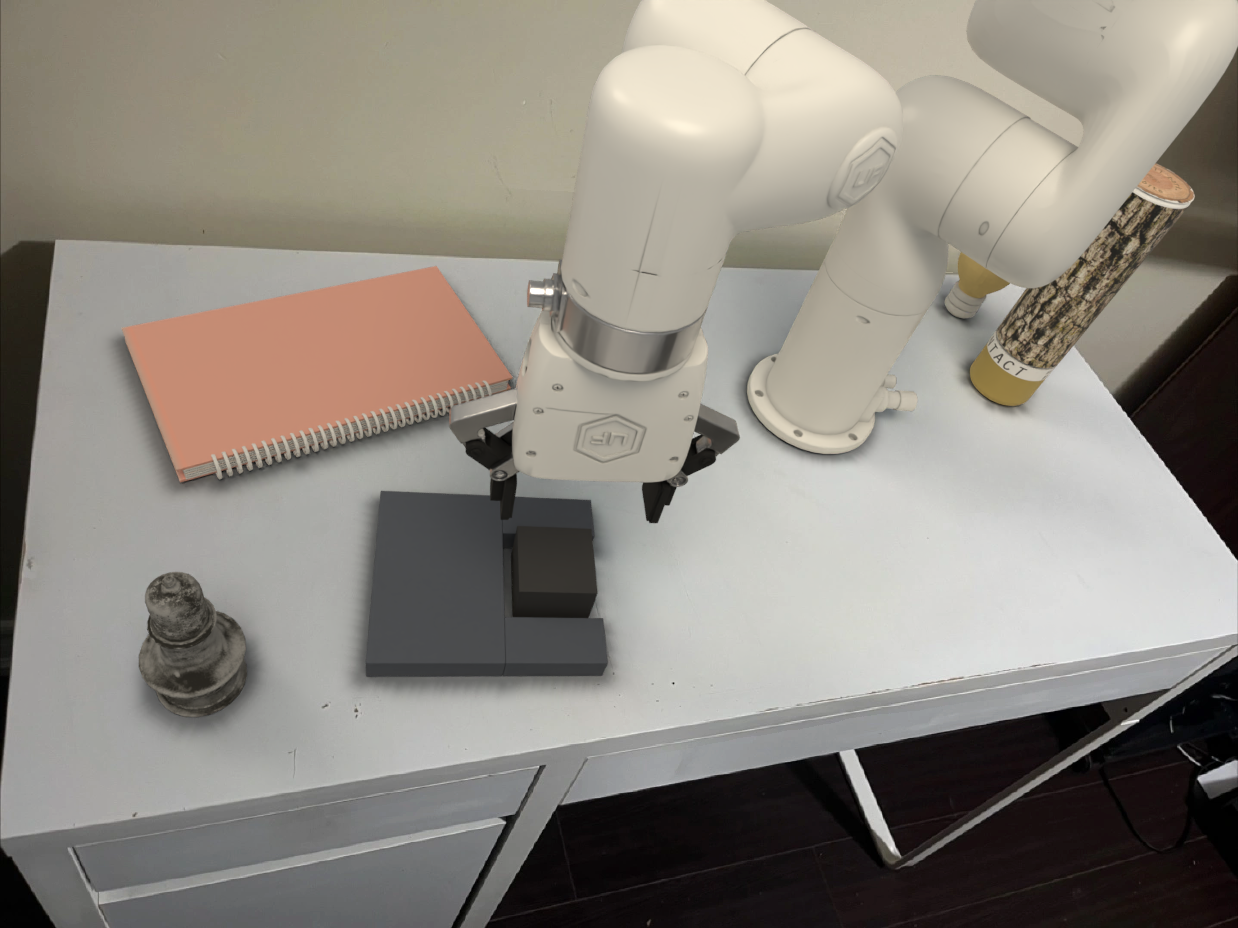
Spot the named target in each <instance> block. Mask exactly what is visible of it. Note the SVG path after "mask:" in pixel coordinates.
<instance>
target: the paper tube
mask: <svg viewBox="0 0 1238 928" xmlns="http://www.w3.org/2000/svg"><path fill="white" fill-rule="evenodd" d="M1195 197H1196V196H1195V192H1194V190H1193V188H1192V187H1191V186H1190V185H1189V184H1188V183H1187V181H1186V180H1184V179H1183V178H1182V177H1181V176H1179V175H1178V174H1177V173H1175V172H1174V171H1172V170H1171V169H1169V168H1166V167H1165V166H1163V165H1161V164H1158V163H1157V162H1156V163H1155V164H1154V166H1153V167H1152V168H1151V169H1150V171H1149V172H1148V173H1147V174H1146V176H1145V177H1144V178H1143V179H1142V181H1141V182H1140V183H1139V184H1138V186H1137V187H1136V188H1135V189H1134V191H1133V192H1132V193H1131V195H1130V196H1129V197H1128V198H1127V200H1126V201H1125V202H1124V203H1123V205H1122V206H1121V207H1120V208H1119V210H1118V211H1117V212H1116V213H1115V215H1114V216H1113V217H1112V218H1111V220H1110V221H1109V222H1108V223H1107V225H1106V226H1105V227H1104V229H1103V230H1102V231H1101V232H1100V234H1099V235H1098V236H1097V237H1096V238H1095V240H1094V241H1093V242H1092V243H1091V244H1090V246H1089V247H1088V248H1087V249H1086V250H1085V252H1084V253H1083V254H1082V255H1081V256H1080V257H1079V258H1078V260H1077V261H1076V262H1075V263H1074V264H1073V265H1072V266H1071V267H1070V268H1069V269H1068V270H1067V271H1066V272H1064V273H1063V274H1062V275H1061V276H1060V277H1058V278H1057V279H1056V280H1054V281H1053V282H1051V283H1049V284H1047V285H1045V286H1042V287H1038V288H1025V289H1024V291H1023V292H1022V293H1021V295H1020V296H1019V298H1018V299H1017V300H1016V302H1015V303H1014V305H1013V306H1012V308H1011V309H1010V310H1009V312H1008V313H1007V314H1006V316H1005V317H1004V319H1003V320H1002V322H1001V323H1000V324H999V325H998V327H997V329H996V330H995V331H994V332H993V334H992V335H991V336H990V338H989V340H988V341H987V342H986V344H985V345H984V347H983V348H982V349H981V351H980V352H979V353H978V355H977V356H976V358H975V359H974V361H972V363H971V366H969V367H970V368H969V377H970V381H971V383H972V385H973V386H974V387H975V389H976V390H977V392H979V393H980V394H981V395H983V396H984V397H985V398H986V399H988V400H990V401H992V402H993V403H996V404H999V405H1003V406H1006V407H1007V406H1008V407H1017V406H1020V405H1023V404H1026V403H1027V402H1028V401H1029V400H1030V399H1031V397H1032V396H1033V395H1034V394H1035V393H1036V391H1038V389H1039V388H1040V387H1041V385H1042V384H1043V383H1044V382H1045V381H1046V379H1047V378H1048V377H1049V376H1050V375H1051V374H1052V373H1053V372H1054V370H1055V369H1056V367H1058V365H1059V364H1060V363H1061V362H1062V361H1063V359H1064V358H1065V357H1066V356H1067V354H1068V353H1069V352H1070V351H1071V350H1072V348H1073V347H1074V346H1075V345H1076V343H1077V342H1079V340H1080V338H1081V337H1082V336H1083V335H1084V334H1085V333H1086V332H1087V330H1089V328H1090V327H1091V325H1092V324H1093V323H1094V322H1095V320H1096V319H1097V318H1098V317H1099V316H1100V314H1102V312H1103V311H1104V310H1105V308H1106V307H1107V306H1108V305H1109V304H1110V302H1111V301H1112V300H1113V299H1114V297H1115V296H1116V295H1117V294H1118V292H1119V291H1120V290H1121V289H1122V288H1123V287H1124V286H1125V284H1126V283H1127V282H1128V281H1129V279H1130V278H1131V277H1132V276H1133V274H1134V273H1135V272H1136V271H1137V270H1138V269H1139V267H1140V266H1141V265H1142V264H1143V263H1144V261H1145V260H1146V259H1147V258H1148V256H1149V255H1150V254H1151V253H1152V252H1153V250H1154V249H1155V248H1156V247H1157V245H1158V244H1159V243H1160V242H1161V241H1162V240H1163V238H1164V237H1165V236H1166V235H1167V233H1168V232H1169V231H1170V230H1171V229H1172V228H1173V226H1174V225H1175V224H1176V222H1178V220H1179V219H1180V217H1181V216H1182V215H1183V214H1184V213H1185V212H1186V211H1187V209H1188V208H1189V207H1190V205H1191V204H1192V202H1193V201H1194V200H1195Z"/></svg>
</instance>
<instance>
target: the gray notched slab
mask: <svg viewBox="0 0 1238 928" xmlns="http://www.w3.org/2000/svg"><path fill="white" fill-rule="evenodd" d="M378 505H379V506H378V516H377V528H376V539H375V549H374V550H375V551H374V560H373V561H374V563H373V575H372V585H371V598H370V607H369V608H370V609H369V620H368V630H367V631H368V632H367V642H366V643H367V644H366V655H365V677H370V678H372V677H373V678H374V677H375V678H376V677H381V678H383V677H384V678H386V677H387V678H388V677H392V678H393V677H602V676H603V675H604V673H605V671H606V668H607V666H608V664H609V659H608V651H607V642H606V641H607V640H606V632H605V622H604V618H602V617H601V618H600V617H589V618H539V617H512V616H505V579H504V578H505V577H504V576H505V575H504V549H512V548H513V544H514V539H515V534H516V529H517V526H534V527H559V528H584V529H592V539H593V541H594V539H595V537H596V535H595V526H594V515H593V506H592V500H591V499H581V498H579V499H578V498H561V497H560V498H557V497H556V498H555V497H533V496H515V501H514V507H513V514H512V518H509V520H500V501H490V494H489V495H487V494H486V495H485V494H467V493H466V494H465V493H444V492H443V493H442V492H441V493H440V492H419V491H395V490H381V491H380V495H379V504H378Z"/></svg>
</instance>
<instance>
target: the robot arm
mask: <svg viewBox="0 0 1238 928" xmlns="http://www.w3.org/2000/svg"><path fill="white" fill-rule="evenodd" d="M967 19H968V20H967V23H966V24H967V25H966V30H965V31H966V39H967V42H968V44H969V46H970V48H971V51H973V53H975V55H976V56H977V57H978V58H979V59H980V60H981V61H983V62H984V63H985V64H986V65H988V66H989V67H990V68H992V69H993V70H995V71H996V72H998V73H999V74H1001V75H1002V76H1004V77H1005V78H1007V79H1009V80H1010V81H1012V82H1013V83H1016V84H1017V85H1019V86H1020V87H1022V88H1024V89H1025V90H1027V91H1029V92H1031V93H1032V94H1034V95H1036V96H1038V97H1039V98H1041V99H1043V100H1045V101H1046V102H1048V103H1049V104H1051V105H1053V106H1055V107H1057V108H1058V109H1060V110H1061V111H1064V112H1065V113H1067V114H1069V115H1071V116H1072V117H1074V118H1075V119H1077V120H1078V121H1079V122H1080V123H1081V126H1082V129H1083V130H1082V137H1081V140H1080V143H1079V144H1078V146H1077V145H1075V144H1073V143H1072V142H1071V141H1069V140H1067V139H1066V138H1064V137H1062V136H1061V135H1058V134H1057V133H1055V132H1054V131H1052V130H1050V129H1048V128H1047V127H1045V126H1043V124H1040V123H1038V122H1037V121H1035V120H1033V119H1032V118H1031V117H1030V116H1029V115H1027V114H1025V113H1023V112H1022V111H1020V110H1018V109H1017V108H1015V107H1013V106H1011V105H1010V104H1008V103H1006V102H1005V101H1004V100H1001V99H1000V98H998V97H996V96H995V95H993V94H991V93H989V92H987V91H986V90H984V89H982V88H980V87H979V86H977V85H974V84H972V83H970V82H968V81H965V80H962V79H958V78H957V77H953V76H949V75H940V74H939V75H938V74H930V75H925V76H924V75H923V76H921V77H918V78H915V79H911V81H909V82H907V83H905V84H903V85H902V86H901V87H900V88H898V89H897V90H895V89H894V88H893V85H891V84H890V82H889V81H888V80H887V79H886V78H885V77H883V75H881V74H880V72H878V71H877V69H874V67H872V66H871V65H869V64H868V63H866V62H864V60H862V59H860V58H859V57H857V56H855V55H853V54H852V53H850V52H849V51H848V50H846V49H844V48H842V47H840V46H838V45H837V44H835V43H834V42H832V41H831V40H829V39H827V38H826V37H824V36H822V35H820V34H819V33H818V32H817V31H816V30H814V29H813V28H811V27H810V26H808V25H807V24H805V23H803V22H802V21H800V20H799V19H798V18H796V17H794V16H792V15H791V14H789V13H788V12H786V11H784V10H783V9H781V8H779V7H778V6H776V5H774V4H773V3H771V2H769V1H768V0H640V1H639V3H638V5H637V7H636V8H635V11H634V14H633V16H632V17H631V20H630V23H629V25H628V27H627V29H626V33H625V36H624V40H623V44H622V48H621V53H620V54H618V55H616V56H615V57H613V58H612V59H611V60H610V61H609V62H608V63H607V64H606V65H604V67H603V68H602V69H601V71H600V73H599V74H598V76H597V79H596V80H595V83H594V84H593V86H592V89H591V94H590V98H589V103H588V107H587V111H586V112H587V113H586V118H585V119H586V120H585V125H584V130H583V136H582V142H581V148H580V153H579V160H578V165H577V172H576V177H575V183H574V184H575V185H574V190H573V196H572V201H571V205H570V206H571V207H570V213H569V218H568V225H567V231H566V236H565V241H564V247H563V253H562V259H561V258H560V259H558V263H557V265H558V266H557V271H556V272H555V273H554V272H553V274H552V275H551V278H543V280H542V281H541V280H529V279H528V282H527V283H528V284H527V291H526V306H527V308H535V309H541V311H540V313H539V315H538V317H537V319H536V321H535V324H534V326H533V328H532V330H531V333H530V336H529V339H528V341H527V345H526V347H525V351H524V354H523V358H522V361H521V365H520V368H519V372H518V376H517V379H516V385H515V388H511V389H510V390H506V391H503V392H499V393H496V394H492V395H490V396H485V397H483V398H478V399H476V400H471V401H469V402H464V403H462V404H457V405H455V406H453V407H451V406H450V407H449V410H450V413H448V415H449V416H448V418H449V419H448V420H449V421H448V427H449V430H450V431H451V433H452V434H453V435H454V437H455V438H456V440H457V441H458V442H459V443H460V444H462V446H463V447H464V449H465V452H464V453H465V454H466V455H467V456H468V457H470V459H472V460H474V461H475V462H477V463H478V464H479V465H481V466H482V467H484V468H485V469H487V470H488V471H489V478H490V480H489V495H490V501H500V520H509V518H512V514H513V507H514V501H515V497H516V495H517V488H518V473H521V474H523V475H525V476H527V477H528V476H529V477H532V478H535V479H542V480H554V481H556V480H557V481H578V482H604V483H605V482H606V483H607V482H608V483H642V484H641V494H642V501H643V508H644V514H645V520H646V522H648V523H649V524H658V523H659V521H660V519H661V517H662V513H663V511H664V509H665V507H666V506H667V507H668V506H670V505H671V503H672V501H673V498H674V496H675V493H676V490H677V488H680V487H681V488H682V487H683V486H685V485H687V484H688V483H689V476H691V475H693V474H695V473H697V472H699V471H702V470H703V469H706V468H708V467H710V466H713V464H715V463H716V461H717V456H719V455H722V454H724V453H725V452H726V451H728V450H729V449H730V448H731V447H733V446H734V445H736V444H737V443H738V442H739V441H740V439H741V435H740V432H739V428H738V424H737V421H736V420H735V419H734V418H732V417H729V416H728V415H726V414H723V413H722V412H719V411H717V410H715V409H714V408H711V407H709V406H707V405H705V404H702V398H703V394H704V388H705V383H706V376H707V369H708V360H709V359H708V357H709V345H708V341H707V339H706V336H705V334H704V331H703V328H702V325H703V322H704V319H705V317H706V314H707V311H708V307H709V305H710V302H711V299H712V296H713V293H714V291H715V287H716V285H717V282H718V279H719V276H720V274H721V271H722V269H723V265H724V262H725V259H726V256H727V254H728V251H729V248H730V245H731V242H732V240H734V238H735V237H736V236H737V235H739V234H742V233H747V232H752V231H760V230H767V229H774V228H781V227H790V226H794V225H795V226H796V225H802V224H807V223H810V222H815V221H819V220H823V219H826V218H829V217H831V216H833V215H836V214H837V213H840V212H842V211H844V210H846V211H845V213H844V215H843V218H842V220H841V222H840V224H839V227H838V229H837V232H836V233H835V235H834V237H833V240H832V242H831V244H830V246H829V248H828V251H827V252H826V254H825V257H824V258H823V261H822V263H821V265H820V267H819V269H818V270H817V273H816V276H815V278H814V279H813V281H812V284H811V286H810V288H809V290H808V292H807V294H806V296H805V298H804V300H803V302H802V303H801V304H802V305H801V306H800V309H799V310H798V312H797V315H796V317H795V319H794V321H793V323H792V324H791V328H790V329H789V331H788V333H787V336H786V338H785V340H784V341H783V344H782V345H781V348H780V350H779V352H778V353H774V354H771V355H768V356H766V357H765V358H763V359H761V360H760V361H758V363H757V364H756V365H754V367H753V369H752V371H751V374H750V375H749V378H748V381H747V384H746V385H747V386H746V393H747V394H746V395H747V399H748V402H749V405H750V408H751V409H752V412H753V413H754V414H755V416H756V417H757V419H758V421H760V423H761V424H763V426H764V427H765V429H767V430H769V431H770V432H771V433H772V434H774V436H776V437H777V438H779V439H780V440H782V441H784V442H786V443H787V444H789V445H791V446H794V447H796V448H798V449H800V450H803V451H808V452H811V453H815V454H823V455H839V454H844V453H848V452H851V451H853V450H856V449H857V448H860V447H861V445H863V444H864V443H865V441H867V439H868V438H869V436H870V434H871V433H872V432H873V429H874V427H875V422H876V413H883V412H884V411H886V409H891V410H893V411H901V412H913V411H915V409H916V408H917V405H918V401H919V400H918V395H917V393H916V392H915V391H914V390H913V391H911V390H900V389H898V390H897V389H896V390H890V389H895V388H896V385H897V376H896V375H895V374H889V373H890V371H891V370H892V368H893V366H894V365H895V363H896V362H897V360H898V358H899V357H900V355H901V353H902V352H903V351H904V349H905V347H906V346H907V344H908V343H909V341H910V340H911V337H912V336H913V334H914V333H915V332H916V330H917V328H918V326H919V325H920V323H921V322H922V321H923V319H924V317H925V316H926V314H927V312H928V311H929V309H930V307H931V305H932V304H933V302H934V301H935V299H936V298H937V296H938V294H939V293H940V291H941V289H942V286H943V284H944V281H945V279H946V274H947V270H948V264H949V245H950V246H952V247H953V248H955V249H956V250H958V251H959V252H960V253H961V252H962V253H964V254H965V255H967V256H968V257H970V258H971V259H972V260H974V261H975V262H977V263H978V264H980V265H981V266H983V267H984V268H986V269H988V270H989V271H991V272H992V273H994V274H995V275H997V276H999V277H1000V278H1002V279H1004V280H1005V281H1007V282H1009V283H1010V284H1012V285H1013V286H1016V287H1019V288H1024V289H1026V288H1038V287H1042V286H1045V285H1047V284H1049V283H1051V282H1053V281H1054V280H1056V279H1057V278H1058V277H1060V276H1061V275H1062V274H1063V273H1064V272H1066V271H1067V270H1068V269H1069V268H1070V267H1071V266H1072V265H1073V264H1074V263H1075V262H1076V261H1077V260H1078V258H1079V257H1080V256H1081V255H1082V254H1083V253H1084V252H1085V250H1086V249H1087V248H1088V247H1089V246H1090V244H1091V243H1092V242H1093V241H1094V240H1095V238H1096V237H1097V236H1098V235H1099V234H1100V232H1101V231H1102V230H1103V229H1104V227H1105V226H1106V225H1107V223H1108V222H1109V221H1110V220H1111V218H1112V217H1113V216H1114V215H1115V213H1116V212H1117V211H1118V210H1119V208H1120V207H1121V206H1122V205H1123V203H1124V202H1125V201H1126V200H1127V198H1128V197H1129V196H1130V195H1131V193H1132V192H1133V191H1134V189H1135V188H1136V187H1137V186H1138V184H1139V183H1140V182H1141V181H1142V179H1143V178H1144V177H1145V176H1146V174H1147V173H1148V172H1149V171H1150V169H1151V168H1152V167H1153V166H1154V164H1155V163H1156V164H1157V162H1158V161H1159V159H1160V158H1161V157H1162V156H1163V155H1164V153H1165V152H1166V151H1167V149H1168V148H1169V147H1170V146H1171V144H1172V143H1173V142H1174V141H1175V140H1176V138H1177V137H1178V136H1179V135H1180V133H1181V132H1182V131H1183V129H1184V128H1185V127H1186V126H1187V124H1188V123H1189V122H1190V120H1192V119H1193V117H1194V116H1195V114H1196V113H1197V112H1198V111H1199V110H1200V107H1202V105H1203V104H1204V103H1205V101H1206V99H1207V98H1208V97H1209V95H1210V94H1211V93H1212V92H1213V90H1214V89H1215V87H1216V86H1217V85H1218V83H1219V82H1220V80H1221V78H1222V77H1223V76H1224V74H1225V72H1226V71H1227V69H1228V67H1229V66H1230V64H1231V61H1233V58H1234V57H1235V55H1236V52H1237V49H1238V0H975V1H974V3H973V5H972V8H971V10H970V13H969V16H968V18H967ZM508 422H511V423H510V424H508V425H507V426H505V427H504V428H502V429H500V430H499V431H497V432H496V433H494V432H493V431H491V430H490V429H489V428H490V427H494V426H496V425H501V424H504V423H508ZM694 433H696V434H698V435H697V436H695V437H694Z"/></svg>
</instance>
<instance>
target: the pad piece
mask: <svg viewBox="0 0 1238 928" xmlns="http://www.w3.org/2000/svg"><path fill="white" fill-rule="evenodd" d="M596 570H597V569H596V561H595V550H594V540H593V539H592V529H584V528H559V527H534V526H517V529H516V534H515V539H514V544H513V548H511V553H510V573H511V574H510V575H511V614H512V615H511V617H539V618H590V615H591V612H592V609H593V608H594V604H595V603H596V602H595V601H596V598H597V596H598V593H599V592H598V591H599V590H598V582H597V571H596Z"/></svg>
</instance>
